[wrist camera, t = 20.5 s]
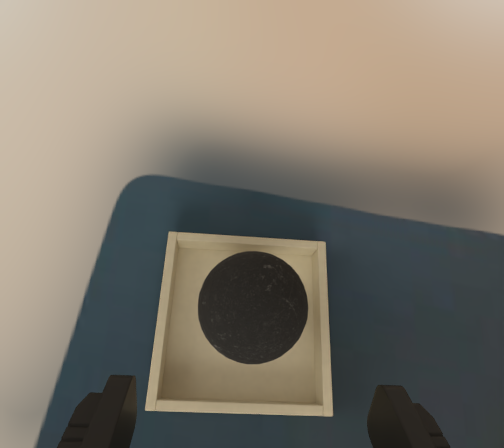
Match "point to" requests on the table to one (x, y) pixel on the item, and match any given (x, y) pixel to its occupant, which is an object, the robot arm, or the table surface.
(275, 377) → the cream tray
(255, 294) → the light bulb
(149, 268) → the table surface
